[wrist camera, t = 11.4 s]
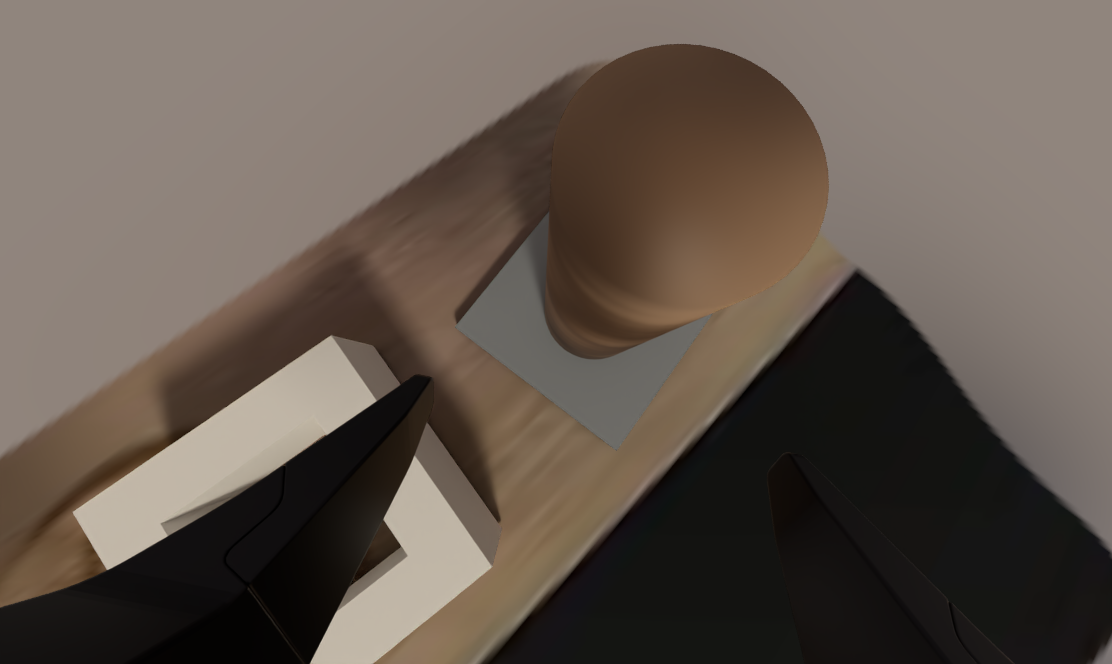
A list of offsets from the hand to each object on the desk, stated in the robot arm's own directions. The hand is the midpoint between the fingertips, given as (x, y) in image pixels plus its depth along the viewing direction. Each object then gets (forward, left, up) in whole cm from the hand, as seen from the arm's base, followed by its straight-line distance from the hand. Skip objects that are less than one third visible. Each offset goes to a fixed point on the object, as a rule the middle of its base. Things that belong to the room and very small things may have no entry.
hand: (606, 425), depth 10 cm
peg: (+2, -4, -9) cm, 11 cm away
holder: (+6, +10, -10) cm, 16 cm away
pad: (+2, -5, -10) cm, 11 cm away
